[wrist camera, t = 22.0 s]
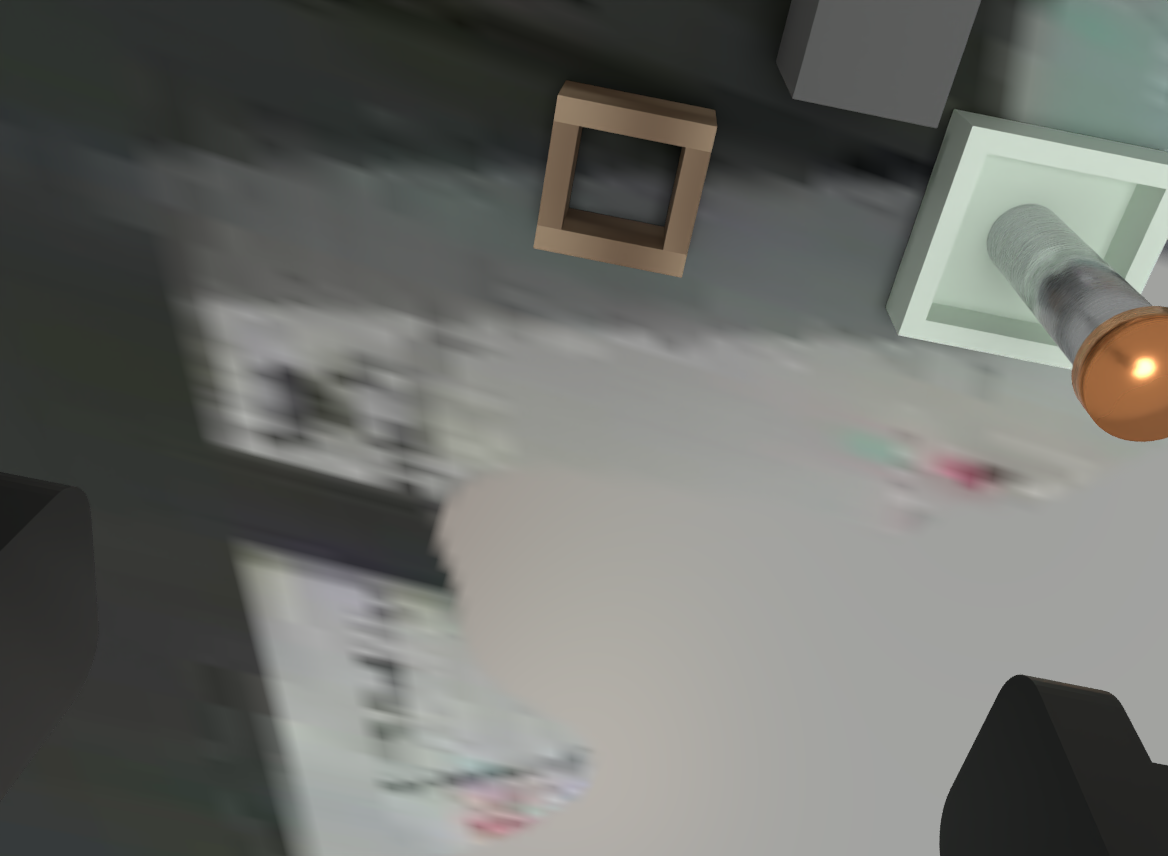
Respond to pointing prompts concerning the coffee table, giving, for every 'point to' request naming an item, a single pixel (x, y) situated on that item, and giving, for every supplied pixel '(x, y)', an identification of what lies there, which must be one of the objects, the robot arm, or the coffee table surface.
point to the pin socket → (611, 234)
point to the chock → (876, 54)
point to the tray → (998, 183)
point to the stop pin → (1089, 320)
